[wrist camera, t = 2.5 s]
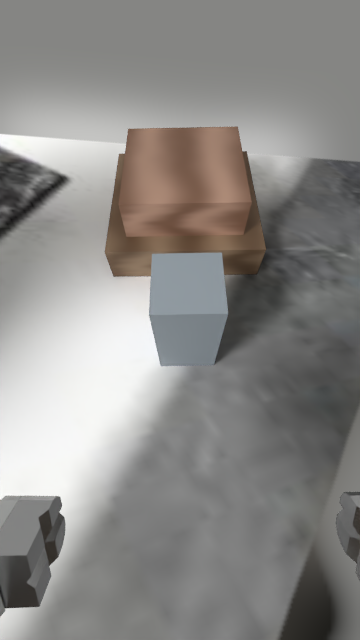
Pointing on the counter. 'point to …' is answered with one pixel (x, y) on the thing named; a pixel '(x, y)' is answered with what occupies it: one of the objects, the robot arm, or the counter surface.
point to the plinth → (145, 247)
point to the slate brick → (187, 307)
